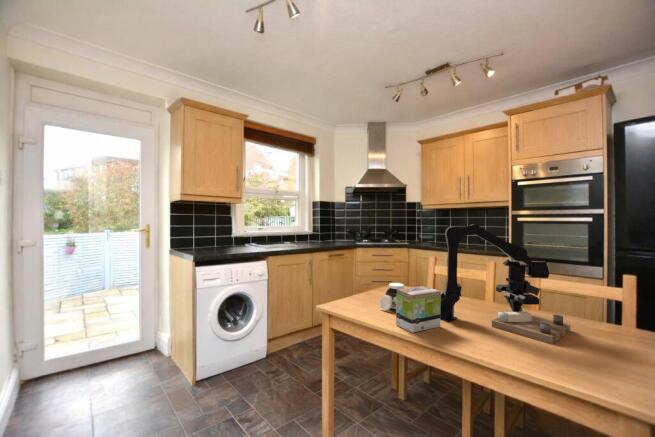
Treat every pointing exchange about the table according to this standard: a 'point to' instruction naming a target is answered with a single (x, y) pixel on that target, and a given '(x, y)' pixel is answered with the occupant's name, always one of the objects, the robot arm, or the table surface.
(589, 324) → the table surface
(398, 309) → the tea box
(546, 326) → the slatted wooden base
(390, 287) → the spread jar
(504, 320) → the white rectangular block
